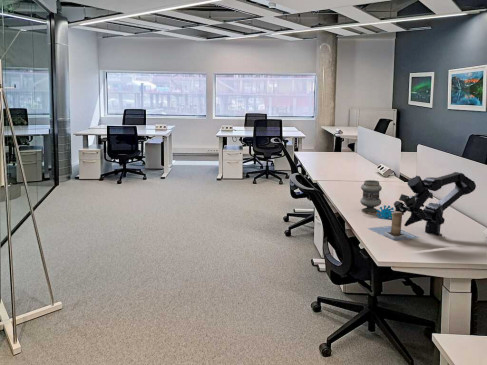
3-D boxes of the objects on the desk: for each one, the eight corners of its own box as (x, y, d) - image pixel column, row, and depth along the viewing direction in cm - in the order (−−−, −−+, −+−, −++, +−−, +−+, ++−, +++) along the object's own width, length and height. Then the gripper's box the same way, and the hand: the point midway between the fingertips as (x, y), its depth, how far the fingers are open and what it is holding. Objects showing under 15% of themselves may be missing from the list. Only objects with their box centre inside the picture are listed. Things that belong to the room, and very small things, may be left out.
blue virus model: (373, 216, 268) (380, 202, 272) (374, 222, 273) (381, 208, 276) (393, 222, 262) (400, 208, 266) (394, 228, 267) (400, 213, 271)
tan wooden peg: (393, 234, 236) (395, 210, 234) (401, 236, 233) (403, 212, 231) (389, 236, 233) (391, 212, 231) (397, 238, 230) (399, 214, 228)
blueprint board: (391, 227, 253) (391, 225, 252) (420, 239, 232) (420, 237, 232) (367, 230, 248) (367, 227, 247) (393, 242, 227) (394, 240, 227)
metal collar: (397, 233, 238) (397, 231, 238) (407, 238, 231) (407, 235, 231) (383, 235, 236) (384, 232, 235) (393, 239, 228) (393, 236, 228)
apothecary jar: (355, 209, 292) (357, 179, 289) (373, 208, 296) (375, 179, 293) (366, 213, 281) (368, 183, 278) (384, 212, 285) (386, 182, 281)
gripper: (398, 184, 240) (377, 208, 238) (423, 192, 223) (401, 217, 221) (410, 199, 244) (390, 222, 242) (436, 207, 227) (414, 232, 225)
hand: (398, 223), depth 233 cm, fingers open, 9 cm apart
